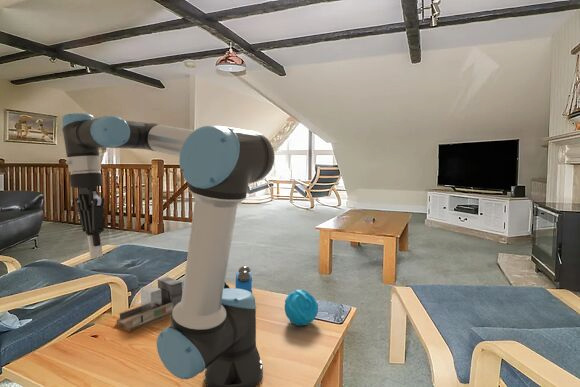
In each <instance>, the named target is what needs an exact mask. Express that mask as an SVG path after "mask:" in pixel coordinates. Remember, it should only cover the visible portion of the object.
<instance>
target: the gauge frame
mask: <svg viewBox="0 0 580 387" xmlns="http://www.w3.org/2000/svg"><path fill="white" fill-rule="evenodd" d="M157 288H160V289H161V299H162V306H160V307H158V308H155V309H152V310H150V311H147V312H144V313H143V312H142V308H141V305H140V306H136V307H134V308H131V309H127V310H126V311H123V312H120V313H119V318H118V319H116V325H118V326H119V327H121V328H122V329H124V330H125V331H127V332H129V333H133V332H136V331H139V330H140V329H143V328H146V327H148V326H150V325H153V324H156V323H158V322H160V321H163V320H165V319H168V318H171V317H172V312H173V309H174V307H175V306H176V305H177V304H178V303H179V302H181V299H182V292H183V283H182V281H180V280H177V279H174V278H172V277H169V276H164V277H161V278H158V279H157Z"/></svg>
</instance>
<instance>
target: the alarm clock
mask: <svg viewBox="0 0 580 387" xmlns="http://www.w3.org/2000/svg"><path fill="white" fill-rule="evenodd" d="M251 271H252V270H251V268H250V267H249V266H246V265H243V266H241V267H239V268H238V272H236V274H235V288H237V289H244V290H247V291H249V292H251V293H252V294H253V288H252V285H253V284H252V283H253V277H252V272H251Z"/></svg>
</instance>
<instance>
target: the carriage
mask: <svg viewBox="0 0 580 387" xmlns="http://www.w3.org/2000/svg"><path fill="white" fill-rule="evenodd" d="M140 300H141V301H140V303H141V305H140V306H141V308H142V312H143V313H144V312H147V311H150V310H152V309H155V308H158V307H160V306H162V299H161V289H160V288H158V286H154V285H152V284H148V285H145V286H143V287H140Z"/></svg>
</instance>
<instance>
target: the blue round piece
mask: <svg viewBox="0 0 580 387" xmlns="http://www.w3.org/2000/svg"><path fill="white" fill-rule="evenodd" d="M318 312H319V304H318V302H317V300H316V299H315V297H314V296H313V295H311V294H310V293H309V292H308V291H306V290H305V289H296V290H294V291H291V292H290V293H289V294H288V295H287V296H286V298H285V300H284V313H285V315H286V317H287V320H289V322H290V323H291V324H293V325H295V326H299V327H300V326H306V325H308V324H309V325H310V323H312V322H313V321H314V320H315V318H316V317H317V315H318Z"/></svg>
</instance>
